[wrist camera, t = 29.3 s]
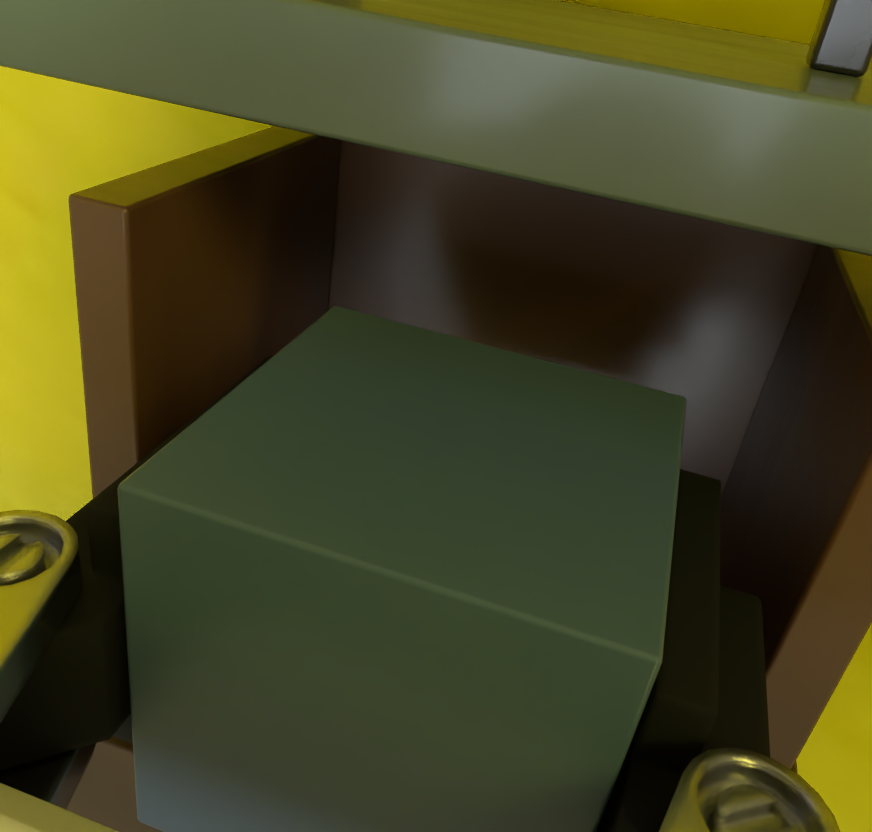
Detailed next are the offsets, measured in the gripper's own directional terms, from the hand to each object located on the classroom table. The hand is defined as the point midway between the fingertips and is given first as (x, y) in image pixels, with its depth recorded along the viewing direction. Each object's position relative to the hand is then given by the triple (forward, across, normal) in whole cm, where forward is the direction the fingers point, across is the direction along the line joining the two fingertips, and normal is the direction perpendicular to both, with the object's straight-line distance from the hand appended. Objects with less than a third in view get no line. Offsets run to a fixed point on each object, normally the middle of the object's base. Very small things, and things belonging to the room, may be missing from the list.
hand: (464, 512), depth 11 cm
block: (0, 0, 0) cm, 0 cm away
